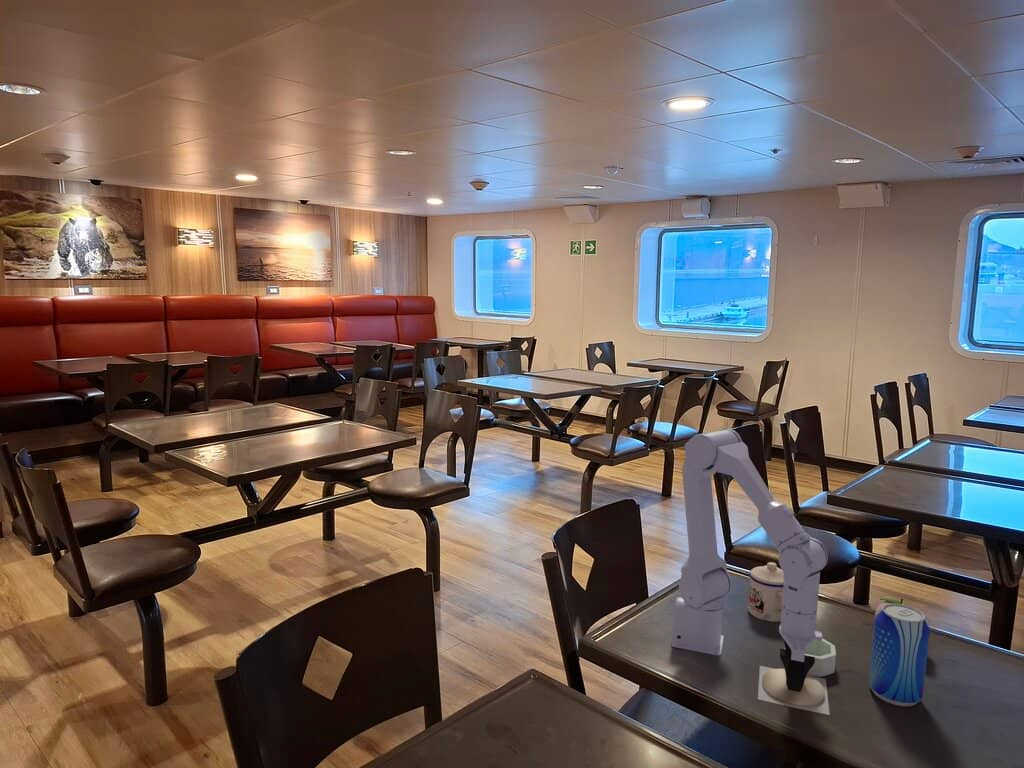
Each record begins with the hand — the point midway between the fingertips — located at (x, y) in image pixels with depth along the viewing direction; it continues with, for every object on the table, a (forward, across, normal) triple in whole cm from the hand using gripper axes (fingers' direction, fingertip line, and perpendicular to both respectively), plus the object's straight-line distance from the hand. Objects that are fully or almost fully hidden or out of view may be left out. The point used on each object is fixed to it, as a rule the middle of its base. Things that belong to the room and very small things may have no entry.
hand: (793, 678), depth 124 cm
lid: (+2, 0, 0) cm, 2 cm away
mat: (+2, 0, 0) cm, 3 cm away
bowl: (+2, +10, -3) cm, 11 cm away
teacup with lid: (+3, +28, +4) cm, 29 cm away
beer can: (+3, +6, -17) cm, 18 cm away
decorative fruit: (+3, +26, -20) cm, 32 cm away
